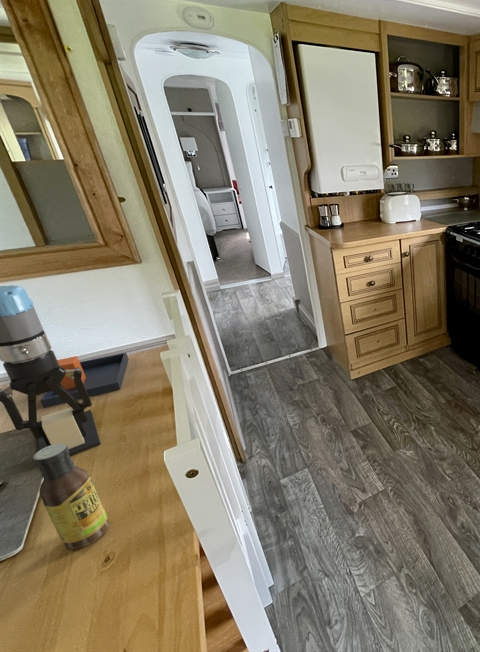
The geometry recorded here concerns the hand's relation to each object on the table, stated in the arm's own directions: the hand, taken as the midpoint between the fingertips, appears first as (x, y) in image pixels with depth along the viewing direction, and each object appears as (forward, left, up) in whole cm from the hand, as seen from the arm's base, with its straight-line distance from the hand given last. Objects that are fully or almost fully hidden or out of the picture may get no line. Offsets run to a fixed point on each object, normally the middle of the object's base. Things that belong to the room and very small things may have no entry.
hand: (67, 439), depth 91 cm
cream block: (0, 0, -1) cm, 1 cm away
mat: (-3, +4, -2) cm, 5 cm away
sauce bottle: (+21, -26, -2) cm, 34 cm away
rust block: (-18, +28, -1) cm, 33 cm away
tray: (-15, +30, -2) cm, 33 cm away
